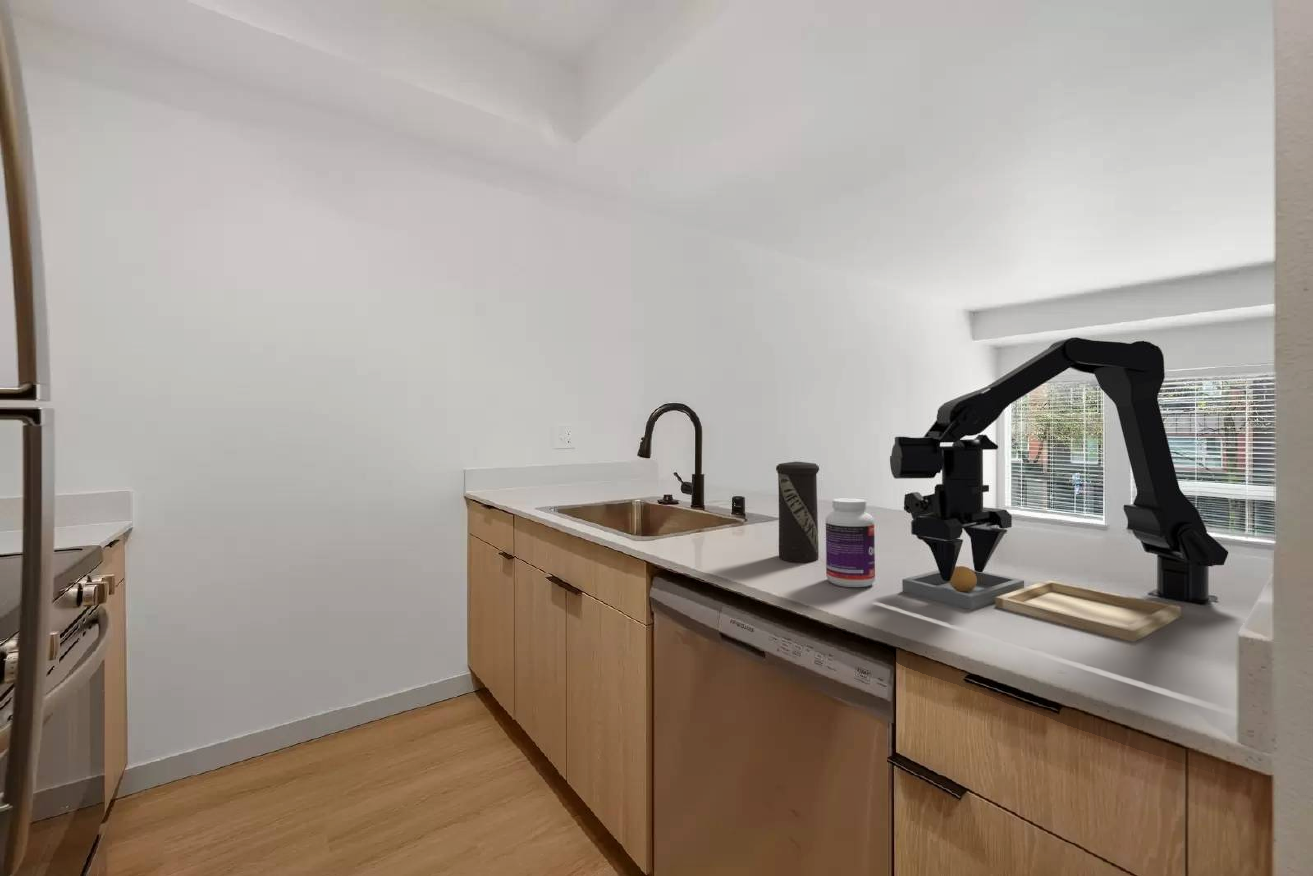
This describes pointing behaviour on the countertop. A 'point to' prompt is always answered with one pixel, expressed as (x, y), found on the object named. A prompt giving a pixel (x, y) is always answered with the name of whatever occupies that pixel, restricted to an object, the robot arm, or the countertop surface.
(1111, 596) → the dish
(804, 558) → the container
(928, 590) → the tray
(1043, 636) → the countertop surface
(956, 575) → the ball
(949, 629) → the countertop surface
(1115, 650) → the countertop surface
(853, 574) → the pill bottle
